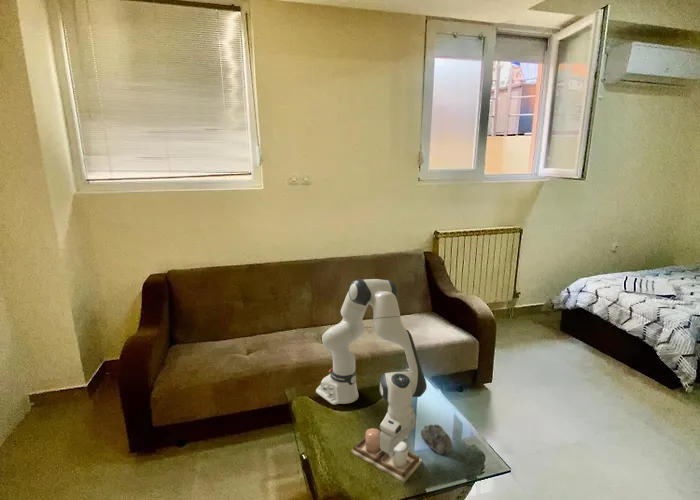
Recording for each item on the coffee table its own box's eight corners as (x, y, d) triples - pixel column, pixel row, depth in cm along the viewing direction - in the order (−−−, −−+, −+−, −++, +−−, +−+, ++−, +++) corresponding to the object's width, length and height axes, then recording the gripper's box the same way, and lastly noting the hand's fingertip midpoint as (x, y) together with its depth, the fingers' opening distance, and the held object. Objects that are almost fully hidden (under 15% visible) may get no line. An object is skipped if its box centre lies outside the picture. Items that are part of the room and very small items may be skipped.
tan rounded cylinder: (362, 449, 159) (362, 433, 157) (371, 441, 163) (371, 426, 162) (374, 455, 155) (374, 440, 154) (383, 447, 160) (383, 432, 158)
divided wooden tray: (350, 452, 158) (350, 447, 158) (369, 435, 168) (369, 430, 168) (404, 482, 143) (404, 476, 142) (421, 462, 153) (421, 456, 152)
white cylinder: (408, 469, 148) (408, 453, 147) (390, 467, 149) (390, 451, 147) (408, 456, 155) (408, 440, 153) (390, 454, 156) (390, 439, 154)
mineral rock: (419, 435, 168) (420, 414, 166) (444, 433, 169) (445, 413, 167) (427, 457, 156) (428, 434, 154) (454, 455, 156) (455, 433, 154)
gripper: (406, 401, 157) (405, 431, 160) (377, 427, 142) (376, 460, 145) (420, 407, 153) (419, 438, 156) (391, 434, 138) (390, 468, 141)
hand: (398, 448), depth 150 cm, fingers open, 8 cm apart
